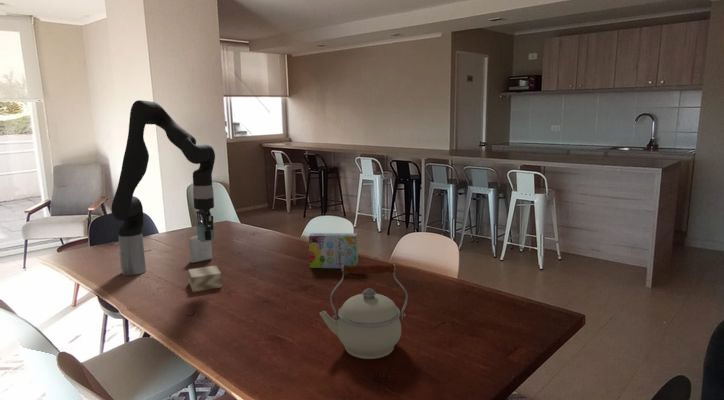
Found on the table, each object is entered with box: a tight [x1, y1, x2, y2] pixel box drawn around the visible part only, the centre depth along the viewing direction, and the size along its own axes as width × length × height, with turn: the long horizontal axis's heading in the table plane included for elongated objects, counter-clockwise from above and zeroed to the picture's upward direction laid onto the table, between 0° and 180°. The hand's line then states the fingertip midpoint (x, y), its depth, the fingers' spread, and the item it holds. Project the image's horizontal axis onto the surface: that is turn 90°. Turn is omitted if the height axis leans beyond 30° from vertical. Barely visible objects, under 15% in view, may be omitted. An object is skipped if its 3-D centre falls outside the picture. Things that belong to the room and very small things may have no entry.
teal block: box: [196, 224, 215, 242], centre depth 182 cm, size 5×5×6 cm
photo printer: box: [188, 234, 213, 263], centre depth 216 cm, size 10×4×12 cm, turn 134°
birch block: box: [187, 265, 223, 293], centre depth 184 cm, size 11×11×6 cm
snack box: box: [308, 232, 359, 269], centre depth 204 cm, size 21×6×15 cm, turn 84°
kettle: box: [319, 263, 409, 360], centre depth 130 cm, size 25×18×25 cm
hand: (205, 238), depth 183 cm, fingers closed on teal block, 5 cm apart
